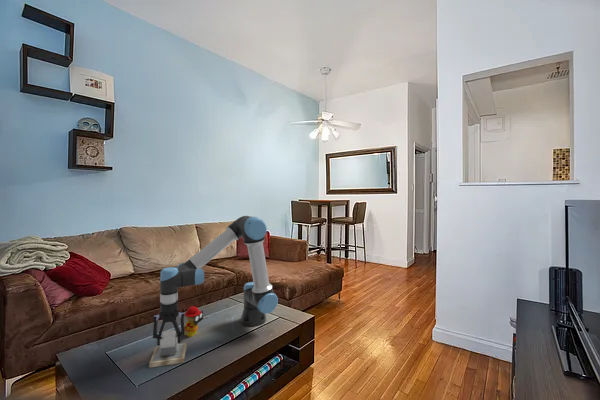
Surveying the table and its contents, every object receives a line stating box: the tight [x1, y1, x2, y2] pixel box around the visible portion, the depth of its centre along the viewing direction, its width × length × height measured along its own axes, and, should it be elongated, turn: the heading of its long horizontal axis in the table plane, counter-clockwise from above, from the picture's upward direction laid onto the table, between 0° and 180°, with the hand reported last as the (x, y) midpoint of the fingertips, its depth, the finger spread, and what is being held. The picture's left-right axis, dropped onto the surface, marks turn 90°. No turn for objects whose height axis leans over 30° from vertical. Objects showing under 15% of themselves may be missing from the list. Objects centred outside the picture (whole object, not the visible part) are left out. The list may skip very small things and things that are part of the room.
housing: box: [161, 329, 177, 357], centre depth 135 cm, size 8×6×8 cm
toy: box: [183, 306, 204, 338], centre depth 156 cm, size 11×9×15 cm
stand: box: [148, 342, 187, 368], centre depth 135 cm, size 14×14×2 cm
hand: (169, 350), depth 135 cm, fingers closed on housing, 6 cm apart
